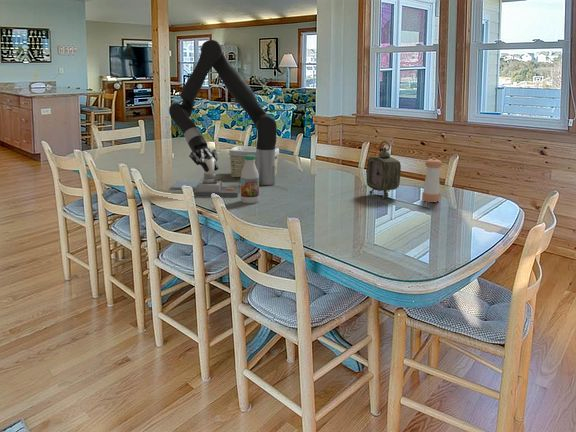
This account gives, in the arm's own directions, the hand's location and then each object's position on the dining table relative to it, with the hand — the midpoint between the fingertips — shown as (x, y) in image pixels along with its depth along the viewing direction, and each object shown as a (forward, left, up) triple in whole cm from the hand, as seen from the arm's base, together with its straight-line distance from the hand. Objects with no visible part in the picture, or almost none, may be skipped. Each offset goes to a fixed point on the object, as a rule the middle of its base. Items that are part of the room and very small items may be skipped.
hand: (212, 170), depth 243 cm
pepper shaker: (-97, +5, -11) cm, 97 cm away
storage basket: (-16, -44, -11) cm, 48 cm away
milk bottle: (-18, +13, -11) cm, 24 cm away
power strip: (-2, -1, -11) cm, 11 cm away
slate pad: (+13, -15, -11) cm, 23 cm away
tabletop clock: (-77, -2, -11) cm, 77 cm away
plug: (+1, -1, -5) cm, 6 cm away
